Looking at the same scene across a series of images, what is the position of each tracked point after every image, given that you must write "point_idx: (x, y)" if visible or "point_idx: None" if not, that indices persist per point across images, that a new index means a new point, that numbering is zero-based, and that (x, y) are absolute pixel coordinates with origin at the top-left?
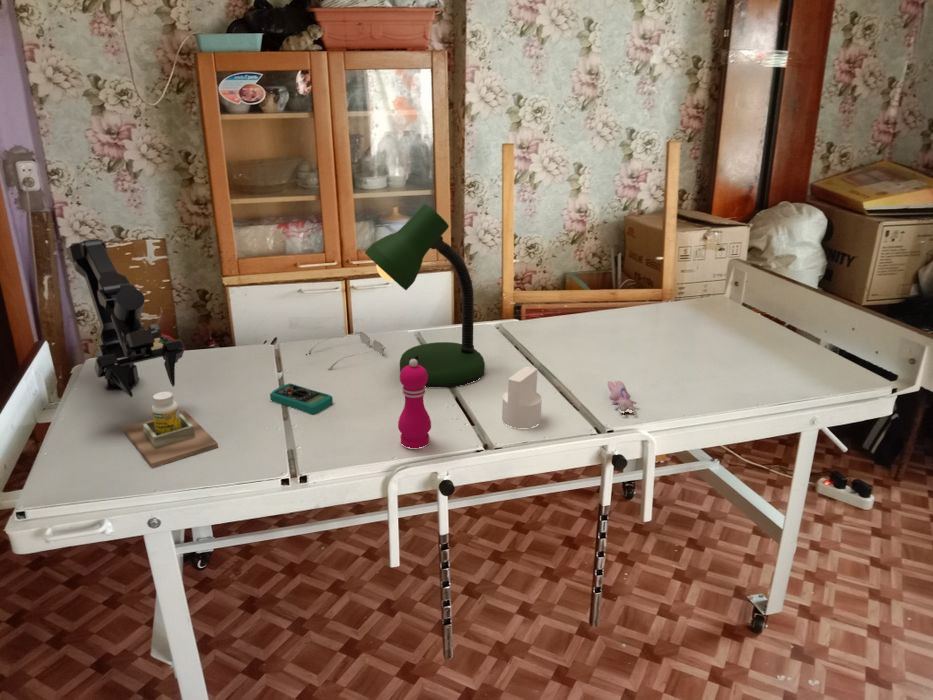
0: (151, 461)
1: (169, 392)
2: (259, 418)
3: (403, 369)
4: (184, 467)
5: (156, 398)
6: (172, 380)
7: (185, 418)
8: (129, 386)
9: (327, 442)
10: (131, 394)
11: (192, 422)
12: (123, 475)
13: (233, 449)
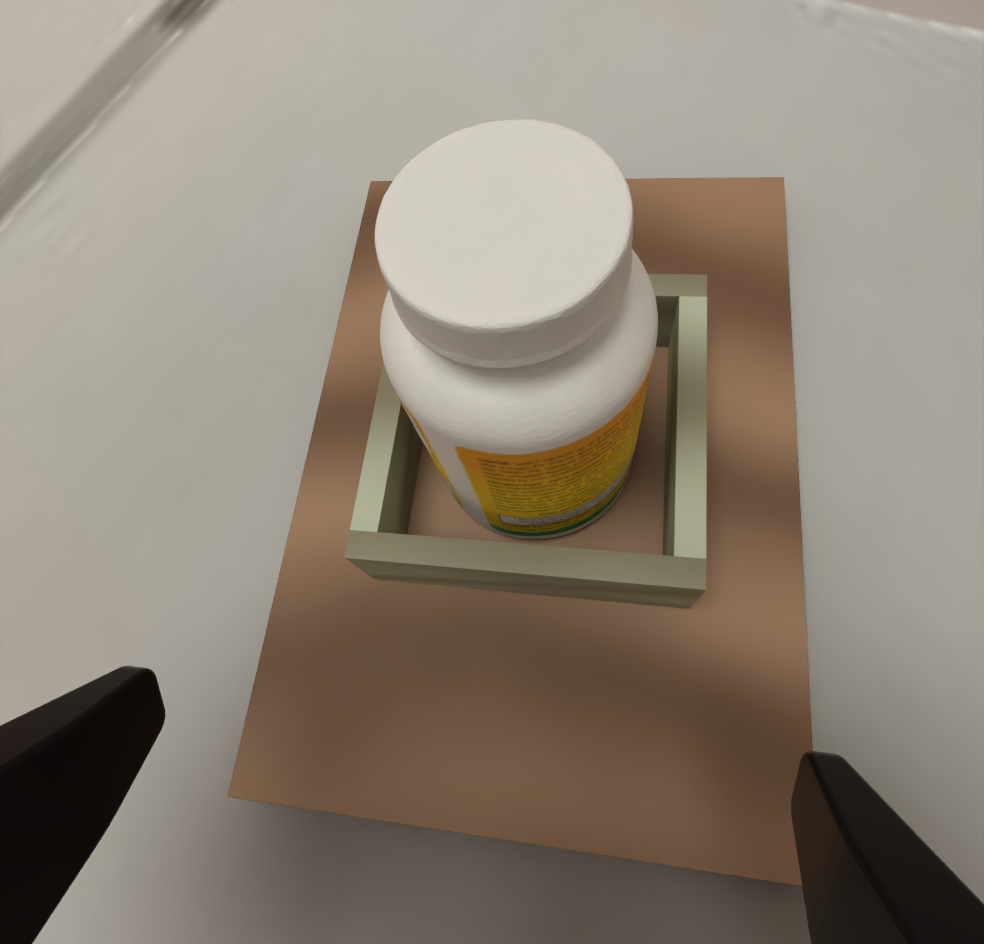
0: (775, 199)
1: (389, 244)
2: (8, 361)
3: None
4: (620, 120)
5: (606, 176)
6: (88, 702)
7: (372, 424)
8: (879, 881)
9: (36, 3)
10: (827, 758)
11: (318, 523)
12: (955, 215)
13: (337, 146)
